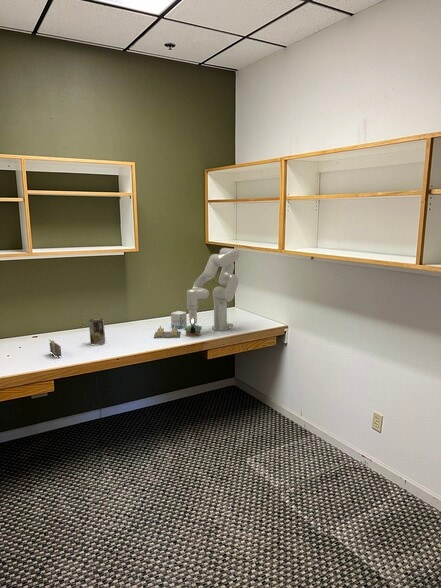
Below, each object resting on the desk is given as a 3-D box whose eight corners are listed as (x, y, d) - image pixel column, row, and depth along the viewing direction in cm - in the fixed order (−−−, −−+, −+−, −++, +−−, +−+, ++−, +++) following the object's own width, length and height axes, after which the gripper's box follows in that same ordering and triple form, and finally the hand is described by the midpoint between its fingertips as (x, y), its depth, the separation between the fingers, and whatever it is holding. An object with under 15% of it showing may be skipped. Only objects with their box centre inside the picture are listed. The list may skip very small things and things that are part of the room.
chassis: (180, 332, 305) (180, 324, 304) (179, 337, 294) (179, 328, 292) (155, 333, 305) (155, 324, 303) (153, 338, 293) (153, 329, 292)
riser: (200, 334, 302) (200, 328, 301) (200, 335, 298) (200, 330, 297) (186, 334, 302) (186, 328, 301) (185, 336, 298) (185, 330, 297)
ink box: (179, 329, 313) (179, 314, 311) (171, 327, 318) (170, 312, 316) (187, 327, 320) (186, 312, 317) (178, 325, 325) (178, 310, 322)
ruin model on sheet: (49, 354, 263) (48, 339, 261) (54, 353, 265) (53, 338, 263) (56, 359, 254) (55, 344, 252) (61, 358, 256) (60, 343, 254)
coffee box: (105, 341, 287) (104, 318, 283) (104, 344, 280) (103, 320, 277) (91, 342, 285) (89, 319, 282) (90, 345, 279) (88, 321, 276)
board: (201, 328, 303) (201, 325, 302) (201, 330, 296) (201, 328, 295) (184, 328, 302) (184, 325, 302) (184, 331, 295) (184, 328, 295)
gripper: (197, 309, 287) (198, 335, 291) (198, 304, 304) (198, 327, 308) (186, 310, 287) (187, 335, 291) (187, 304, 304) (188, 328, 308)
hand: (193, 331), depth 299 cm, fingers closed on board, 7 cm apart
